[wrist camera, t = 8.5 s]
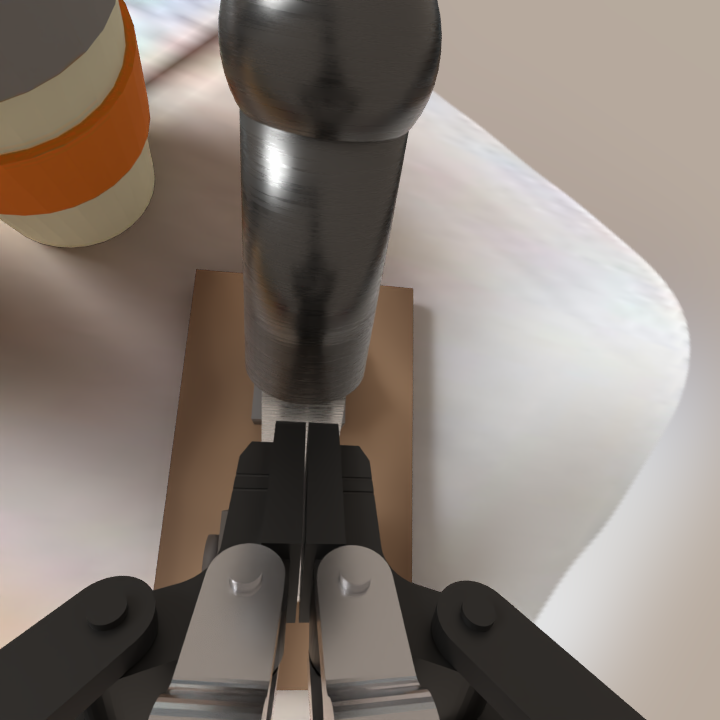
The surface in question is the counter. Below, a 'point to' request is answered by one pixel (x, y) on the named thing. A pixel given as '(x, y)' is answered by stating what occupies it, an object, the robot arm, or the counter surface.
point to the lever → (320, 182)
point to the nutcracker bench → (244, 424)
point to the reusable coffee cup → (72, 121)
